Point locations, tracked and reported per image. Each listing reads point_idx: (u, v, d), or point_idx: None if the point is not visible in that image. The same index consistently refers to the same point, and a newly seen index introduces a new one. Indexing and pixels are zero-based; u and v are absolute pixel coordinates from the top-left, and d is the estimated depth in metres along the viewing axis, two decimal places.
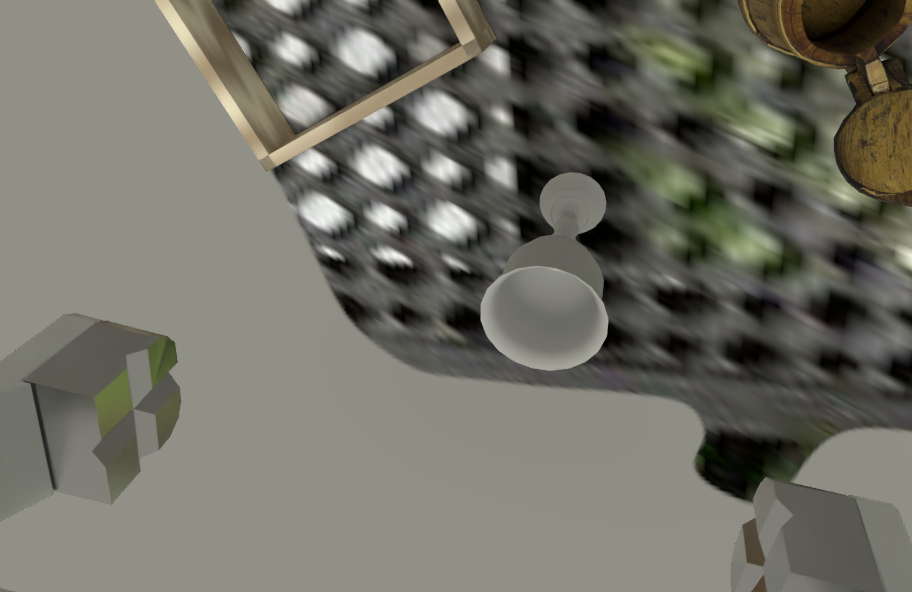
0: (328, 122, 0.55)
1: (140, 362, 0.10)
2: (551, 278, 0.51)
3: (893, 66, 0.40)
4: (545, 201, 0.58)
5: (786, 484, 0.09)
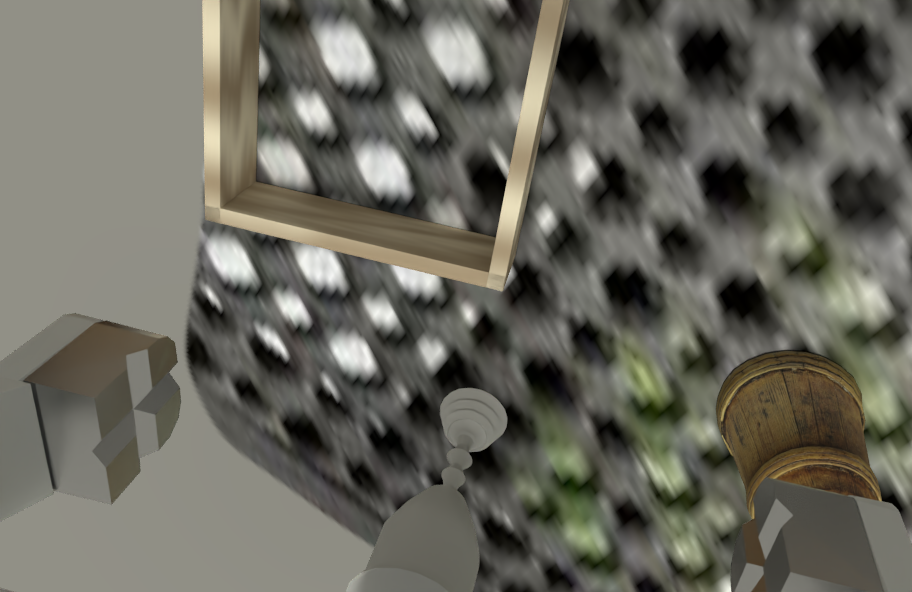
0: (307, 230, 0.46)
1: (140, 362, 0.10)
2: None
3: None
4: (453, 406, 0.55)
5: (786, 484, 0.09)
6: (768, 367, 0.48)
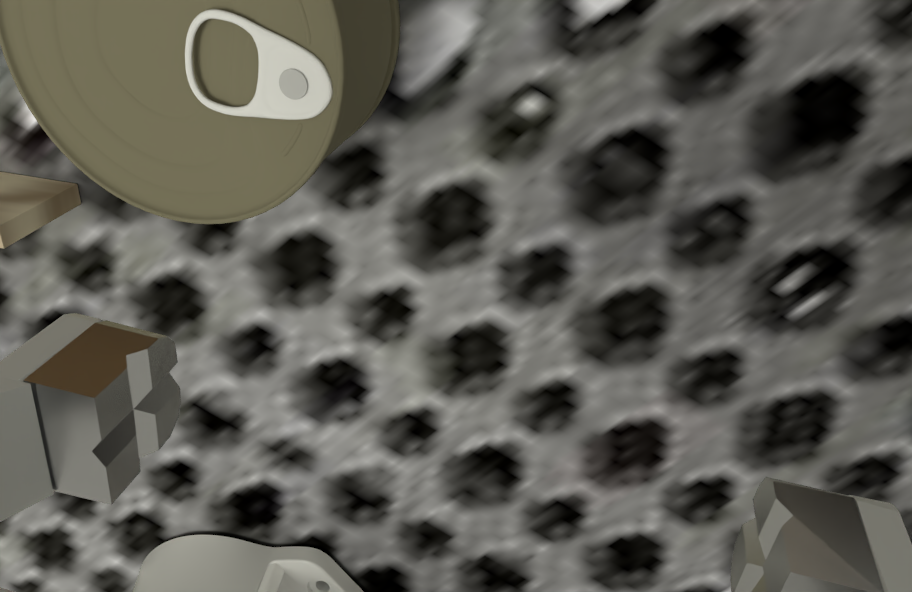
0: None
1: (140, 362, 0.10)
2: None
3: None
4: None
5: (786, 484, 0.09)
6: None
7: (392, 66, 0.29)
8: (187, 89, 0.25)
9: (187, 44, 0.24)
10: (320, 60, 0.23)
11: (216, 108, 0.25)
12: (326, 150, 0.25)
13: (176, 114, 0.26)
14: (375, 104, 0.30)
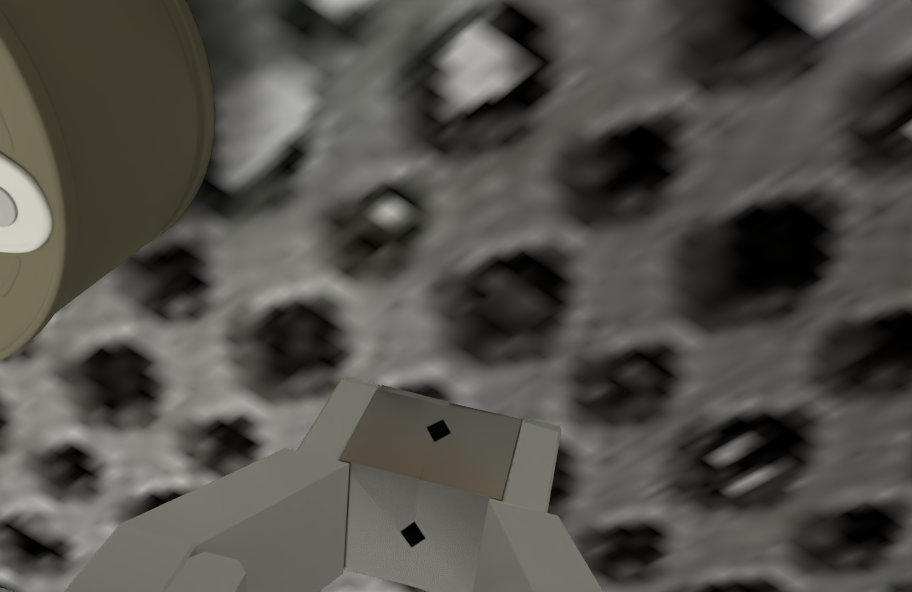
0: None
1: (435, 433, 0.09)
2: None
3: None
4: None
5: (461, 407, 0.10)
6: None
7: (204, 152, 0.22)
8: None
9: None
10: (31, 175, 0.16)
11: None
12: (56, 296, 0.17)
13: None
14: (186, 199, 0.22)
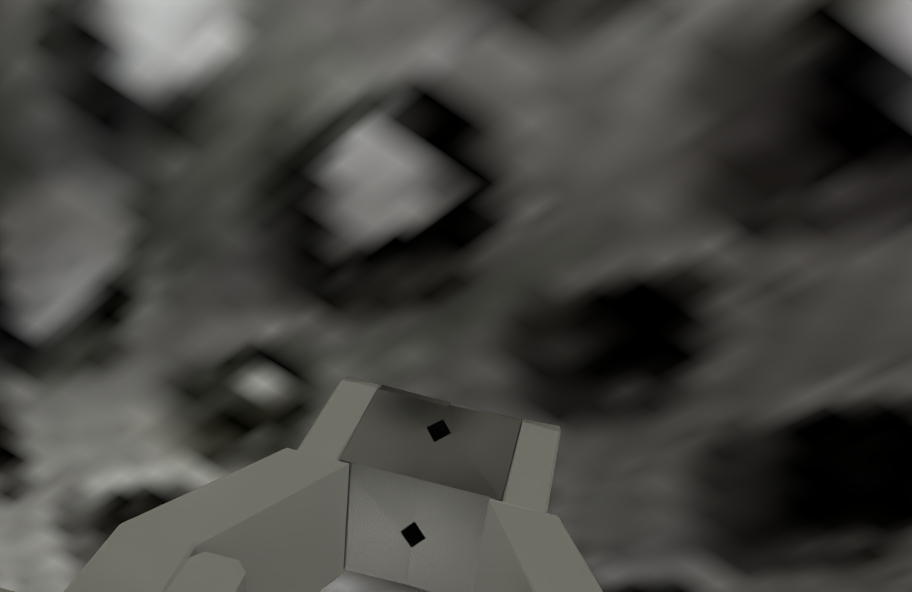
0: None
1: (435, 433, 0.09)
2: None
3: None
4: None
5: (461, 407, 0.10)
6: None
7: None
8: None
9: None
10: None
11: None
12: None
13: None
14: None
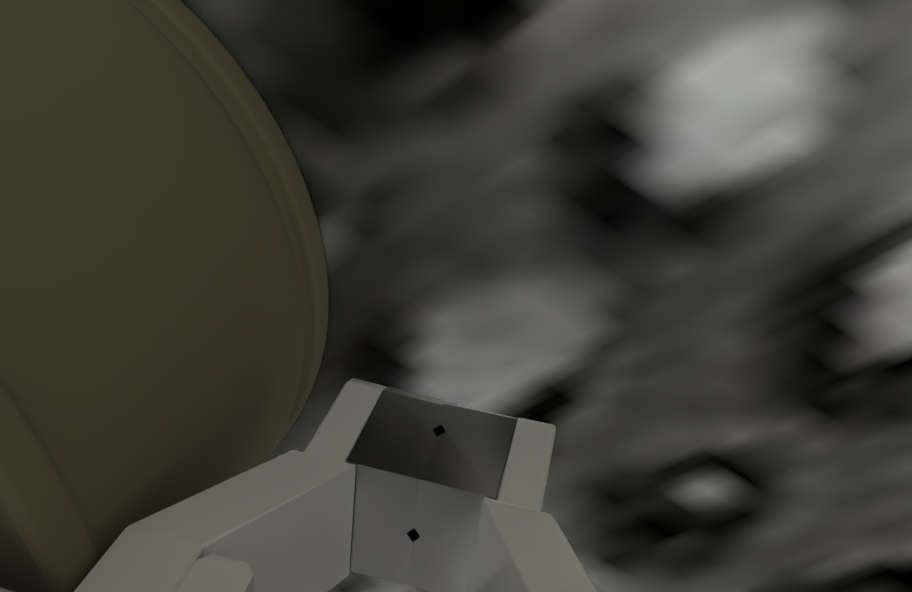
0: None
1: (440, 434, 0.09)
2: None
3: None
4: None
5: (456, 406, 0.10)
6: None
7: (311, 379, 0.13)
8: None
9: None
10: None
11: None
12: None
13: None
14: (277, 442, 0.14)
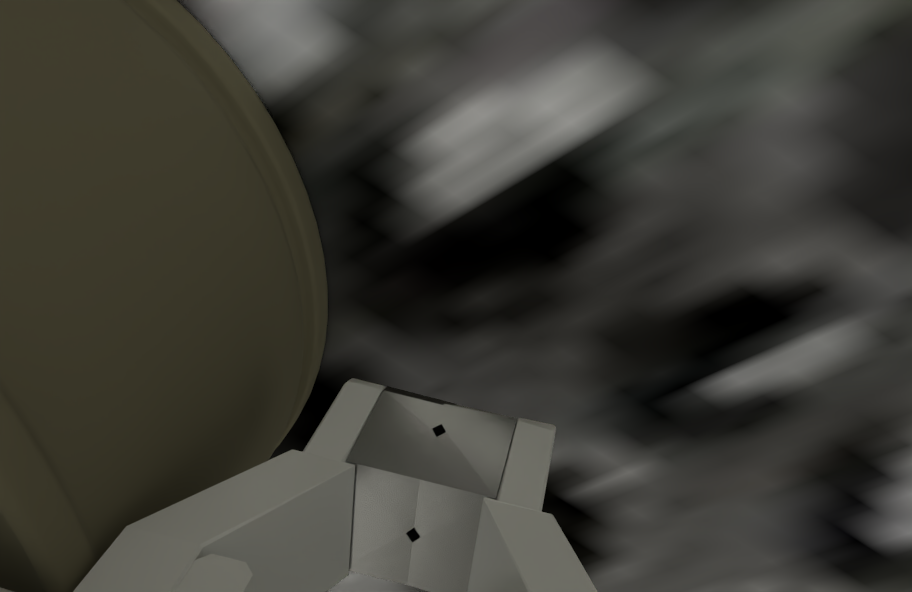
0: None
1: (440, 434, 0.09)
2: None
3: None
4: None
5: (456, 406, 0.10)
6: None
7: (310, 380, 0.13)
8: None
9: None
10: None
11: None
12: None
13: None
14: (277, 442, 0.14)
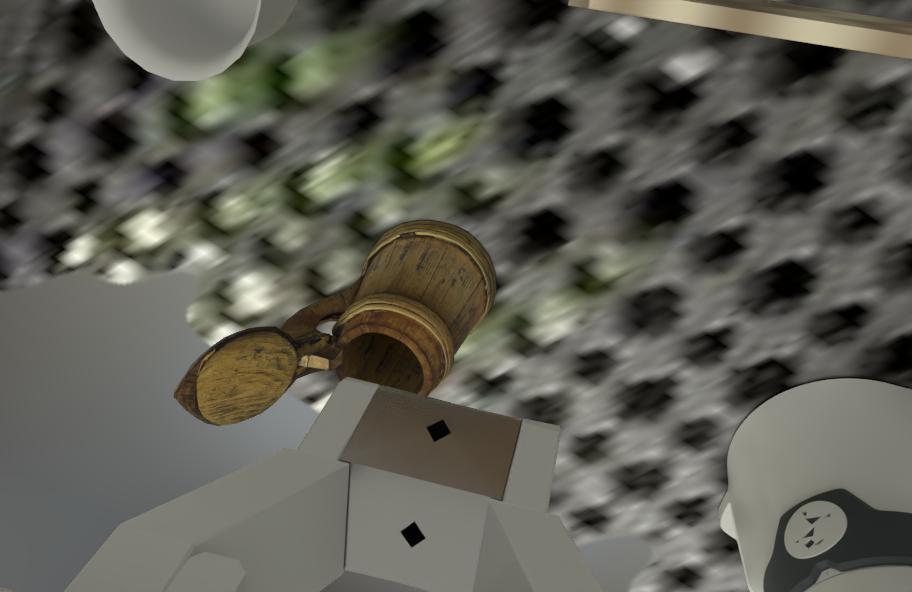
0: None
1: (435, 433, 0.09)
2: None
3: None
4: None
5: (461, 407, 0.10)
6: (482, 265, 0.50)
7: None
8: None
9: None
10: None
11: None
12: None
13: None
14: None
